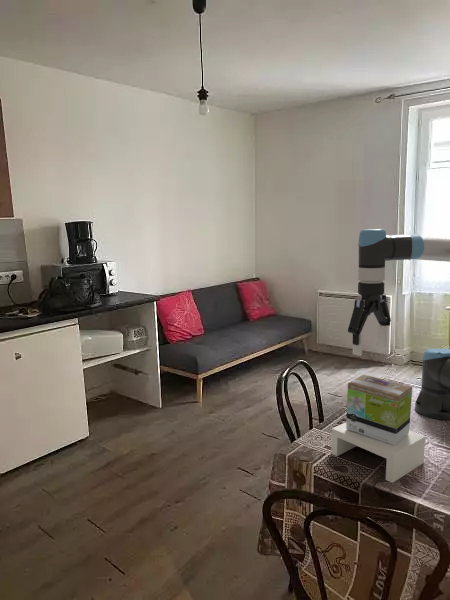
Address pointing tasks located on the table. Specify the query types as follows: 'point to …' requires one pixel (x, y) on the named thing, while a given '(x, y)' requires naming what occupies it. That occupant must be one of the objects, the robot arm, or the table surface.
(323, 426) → the table surface
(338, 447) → the white riser stand
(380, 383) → the tea box
